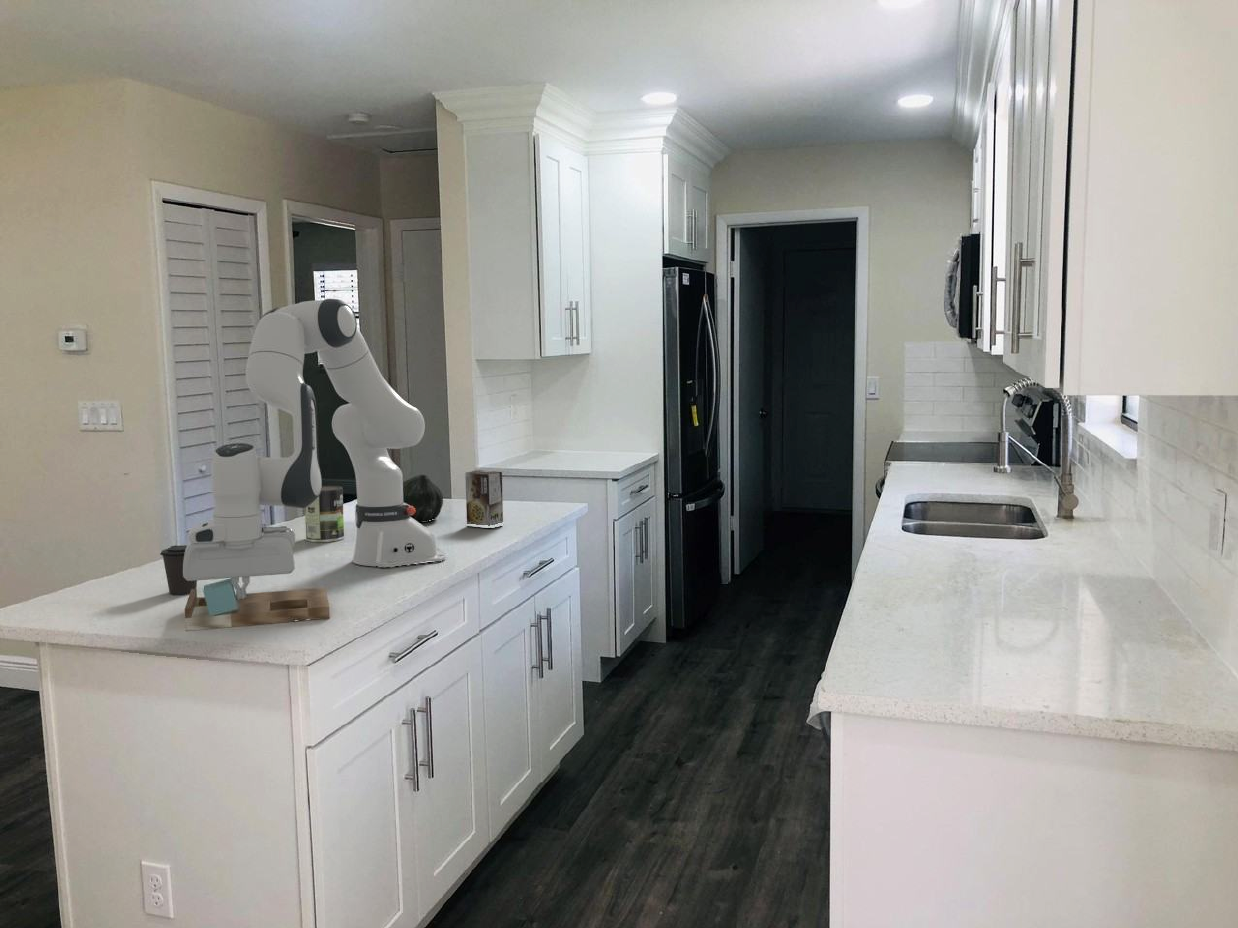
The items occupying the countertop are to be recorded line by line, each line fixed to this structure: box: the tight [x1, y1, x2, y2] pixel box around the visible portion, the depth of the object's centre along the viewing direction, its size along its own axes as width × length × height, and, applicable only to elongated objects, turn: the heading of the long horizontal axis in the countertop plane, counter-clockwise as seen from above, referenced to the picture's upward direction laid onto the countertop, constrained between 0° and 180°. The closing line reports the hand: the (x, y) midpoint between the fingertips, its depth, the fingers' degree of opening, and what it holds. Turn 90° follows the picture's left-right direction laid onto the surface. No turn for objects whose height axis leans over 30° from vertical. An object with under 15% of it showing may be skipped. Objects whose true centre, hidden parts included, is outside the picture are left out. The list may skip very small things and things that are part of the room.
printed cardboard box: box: [464, 469, 504, 526], centre depth 295 cm, size 9×6×16 cm
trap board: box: [184, 587, 331, 632], centre depth 202 cm, size 26×16×4 cm, turn 109°
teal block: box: [202, 578, 238, 616], centre depth 194 cm, size 5×5×5 cm
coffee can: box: [304, 485, 345, 543], centre depth 277 cm, size 10×10×14 cm
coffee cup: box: [159, 544, 198, 596], centre depth 219 cm, size 8×8×10 cm
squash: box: [403, 474, 444, 522], centre depth 304 cm, size 14×15×15 cm
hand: (241, 599), depth 196 cm, fingers closed
